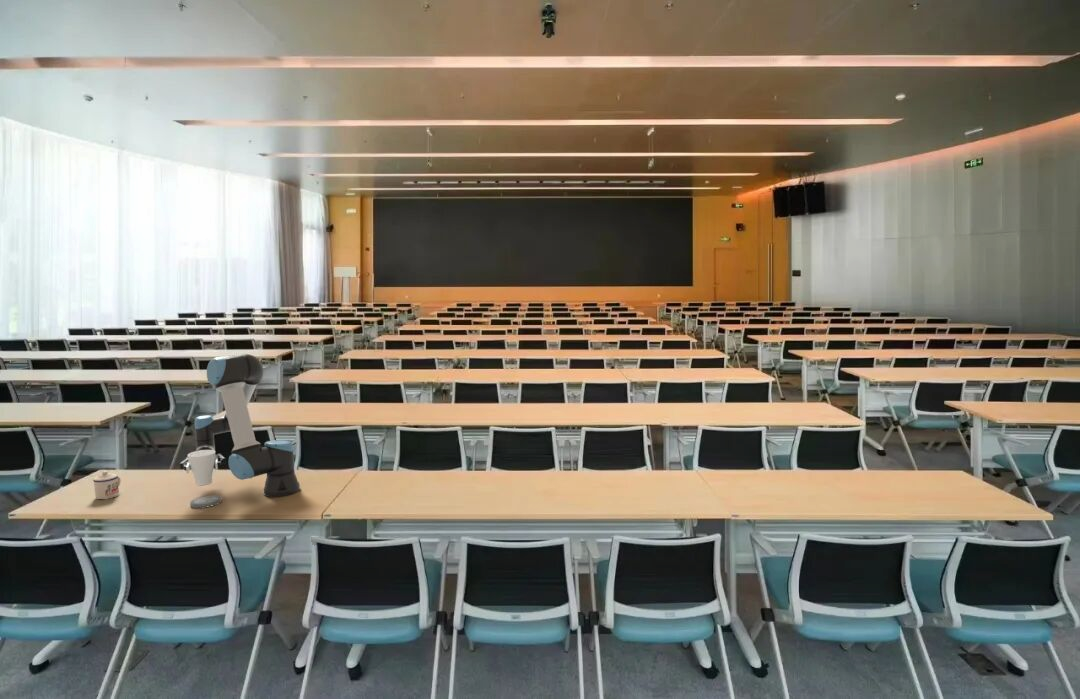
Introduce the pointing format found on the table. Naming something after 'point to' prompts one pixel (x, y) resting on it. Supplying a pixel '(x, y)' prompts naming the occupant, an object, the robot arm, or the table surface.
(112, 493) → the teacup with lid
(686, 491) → the table surface
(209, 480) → the cup
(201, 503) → the plate
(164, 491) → the table surface
